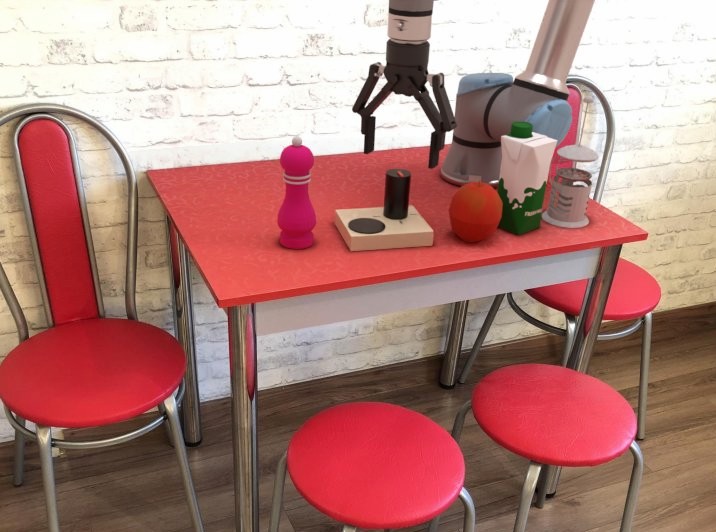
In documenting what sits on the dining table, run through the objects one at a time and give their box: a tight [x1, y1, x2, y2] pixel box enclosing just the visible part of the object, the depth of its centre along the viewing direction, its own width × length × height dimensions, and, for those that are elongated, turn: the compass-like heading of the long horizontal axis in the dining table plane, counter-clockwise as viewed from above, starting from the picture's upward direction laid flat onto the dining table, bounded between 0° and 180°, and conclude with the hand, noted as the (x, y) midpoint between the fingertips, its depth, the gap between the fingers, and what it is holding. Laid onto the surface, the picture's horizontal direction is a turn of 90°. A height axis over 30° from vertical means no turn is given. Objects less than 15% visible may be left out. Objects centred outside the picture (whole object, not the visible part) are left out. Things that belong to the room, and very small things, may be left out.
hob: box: [334, 204, 435, 252], centre depth 153 cm, size 16×13×3 cm
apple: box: [448, 181, 503, 243], centre depth 151 cm, size 10×10×12 cm
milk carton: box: [496, 122, 558, 236], centre depth 155 cm, size 9×9×20 cm
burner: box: [348, 218, 385, 234], centre depth 149 cm, size 7×7×1 cm
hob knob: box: [383, 168, 412, 220], centre depth 152 cm, size 5×5×9 cm
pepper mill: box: [276, 136, 317, 250], centre depth 144 cm, size 7×7×20 cm
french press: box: [541, 95, 600, 229], centre depth 159 cm, size 10×12×25 cm
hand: (400, 159), depth 149 cm, fingers open, 13 cm apart
